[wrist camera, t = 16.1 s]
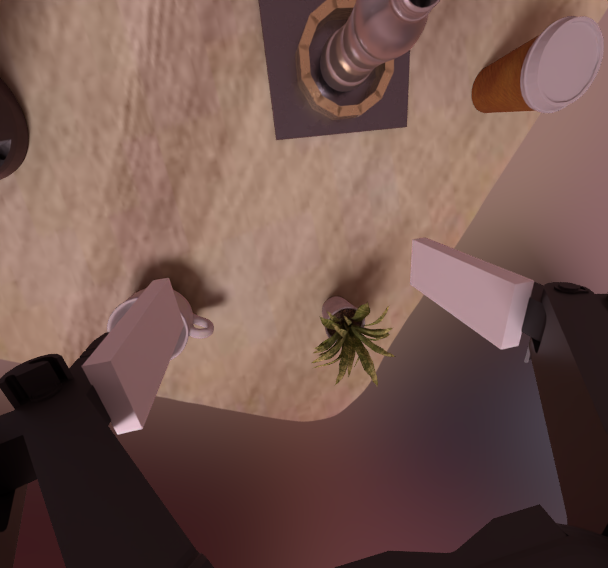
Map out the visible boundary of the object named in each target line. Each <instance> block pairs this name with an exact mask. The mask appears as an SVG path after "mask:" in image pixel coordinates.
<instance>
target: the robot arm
mask: <svg viewBox="0 0 608 568" xmlns="http://www.w3.org/2000/svg"><path fill="white" fill-rule="evenodd" d="M27 147H28V130H27V125H26V121H25V118H24V115H23V112H22V110H21V108H20V106H19V104H18V102H17V100H16V98H15V97H14V95H13V93H12V92H11V91H10V89H9V88H8V87H7V85H6V84H5V83H4V82H3V80H2V79H1V78H0V180H1V179H3V178H5V177H7V176H9V175H10V174H12V173H13V172H14V171H15V170H16V169H17V168H18V167H19V166H20V165H21V163H22V161H23V159H24V157H25V155H26V151H27ZM410 285H412V286H413V287H415V288H416V289H417V290H419V291H420V292H422V293H423V294H424V295H426V296H427V297H429V298H430V299H431V300H433V301H434V302H435V303H437V304H439V305H440V306H441V307H442V308H444V309H445V310H447V311H448V312H450V313H451V314H452V315H454V316H455V317H456V318H458V319H459V320H461V321H462V322H463V323H465V324H466V325H467V326H469V327H470V328H472V329H473V330H474V331H476V332H477V333H479V334H480V335H481V336H483V337H484V338H486V339H487V340H488V341H490V342H491V343H493V344H494V345H495V346H497V347H498V348H500V349H505V348H510V347H515V346H518V345H519V341H520V337H521V333H522V332H524V333H525V334H527V335H529V336H530V337H531V338H530V342H529V346H528V349H527V353H526V357H525V361H524V362H525V363H528V361H529V360H530V359H531V360H532V364H533V368H534V372H535V377H536V382H537V386H538V390H539V395H540V399H541V404H542V408H543V412H544V417H545V421H546V426H547V430H548V435H549V439H550V443H551V448H552V452H553V457H554V461H555V465H556V470H557V474H558V479H559V482H560V487H561V492H562V496H563V500H564V505H565V509H566V514H567V525H564V524H558V523H555V522H554V521H553V519H552V518H551V517H550V516H549V515H548V514H547V512H546V511H545V510H544V509H543V508H542V507H541V505H540V504H539V505H536V506H533V507H530V508H526V509H523V510H520V511H517V512H513V513H510V514H507V515H504V516H501V517H497V518H494V519H492V520H491V521H490V522H489V523H488V524H486V525H485V526H484V527H483V528H482V529H481V530H479V532H477V533H476V534H475V535H474V536H472V537H471V538H470V539H469V540H468V541H467V542H466V543H464V544H463V545H462V546H461V547H460V548H458V549H457V550H456V551H454V552H451V553H429V552H405V551H387V552H384V553H381V554H377V555H374V556H371V557H367V558H364V559H361V560H358V561H354V562H351V563H348V564H345V565H341V566H338V567H335V568H608V294H594V293H593V292H592V291H591V290H590V289H588V288H586V287H583V286H580V285H576V284H573V283H566V282H553V283H547V284H545V285H544V286H543V285H541V284H538V283H536V282H534V280H531V279H529V278H526V277H524V276H521V275H519V274H516V273H514V272H511V271H509V270H506V269H503V268H501V267H498V266H495V265H493V264H491V263H488V262H486V261H483V260H481V259H478V258H476V257H473V256H471V255H468V254H465V253H463V252H460V251H458V250H455V249H453V248H450V247H448V246H445V245H443V244H440V243H438V242H435V241H433V240H430V239H428V238H419V239H413V241H412V259H411V277H410ZM183 326H184V323H183V320H182V317H181V314H180V311H179V307H178V304H177V301H176V298H175V295H174V292H173V289H172V286H171V282H170V279H169V278H164V279H157V280H153V281H152V282H151V283H150V284H149V286H148V287H147V288H146V289H145V290H144V292H143V293H142V294H141V295H140V296H139V298H138V299H137V300H136V301H135V302H134V304H133V305H132V306H131V307H130V308H129V310H128V311H127V312H126V313H125V315H124V316H123V317H122V318H121V319H120V321H119V322H118V323H117V324H116V325H115V327H114V328H113V329H112V330H111V331H110V332H107V333H104V334H103V335H101V336H100V337H99V338H97V339H96V340H94V341H93V342H92V343H91V344H90V345H89V347H88V348H87V349H86V351H84V352H83V353H82V355H81V356H80V358H79V359H77V360H76V361H75V362H74V364H73V365H72V366H71V367H70V368H68V366H67V365H66V363H65V361H64V359H63V357H62V356H61V355H59V354H48V355H44V356H40V357H37V358H34V359H31V360H29V361H26V362H24V363H22V364H20V365H18V366H16V367H15V368H13V369H12V370H10V371H9V372H7V373H6V374H5V375H4V376H3V377H2V378H1V379H0V388H1V390H2V391H3V393H4V394H5V396H6V397H7V399H8V400H9V401H10V403H11V404H12V406H13V407H14V408H15V410H14V411H11V412H9V413H6V414H3V415H1V416H0V568H13V564H14V558H15V552H16V547H17V541H18V535H19V529H20V524H21V518H22V512H23V507H24V501H25V495H26V489H27V484H28V483H30V482H32V481H34V480H36V479H38V482H39V486H40V488H41V492H42V494H43V498H44V501H45V504H46V507H47V510H48V513H49V516H50V519H51V523H52V526H53V529H54V532H55V535H56V538H57V541H58V544H59V547H60V550H61V553H62V557H63V559H64V563H65V566H66V568H214V567H213V566H212V564H211V563H210V562H209V560H208V559H207V558H206V557H205V556H204V555H203V554H202V553H201V554H200V553H199V552H198V551H197V550H196V549H195V547H194V546H193V545H192V543H191V542H190V540H189V539H188V538H187V536H186V535H185V533H184V532H183V531H182V529H181V528H180V527H179V525H178V524H177V522H176V521H175V519H174V518H173V517H172V515H171V514H170V513H169V511H168V510H167V508H166V507H165V505H164V504H163V503H162V501H161V500H160V498H159V497H158V495H157V494H156V493H155V491H154V490H153V488H152V487H151V486H150V484H149V483H148V481H147V480H146V479H145V477H144V476H143V474H142V473H141V472H140V470H139V469H138V468H137V466H136V465H135V463H134V462H133V461H132V459H131V458H130V456H129V455H128V453H127V452H126V451H125V449H124V448H123V446H122V445H121V444H120V442H119V441H118V439H117V438H116V437H115V435H114V434H113V432H112V431H111V430H110V428H109V427H108V425H109V423H110V421H111V423H112V425H113V427H114V429H115V431H116V433H117V434H122V433H126V432H131V431H135V430H140V429H143V427H144V424H145V421H146V419H147V416H148V414H149V411H150V409H151V406H152V404H153V401H154V399H155V396H156V394H157V391H158V389H159V386H160V384H161V381H162V379H163V376H164V374H165V371H166V369H167V366H168V364H169V361H170V359H171V356H172V354H173V351H174V349H175V346H176V344H177V341H178V339H179V336H180V334H181V331H182V329H183Z"/></svg>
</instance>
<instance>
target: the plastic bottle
mask: <svg viewBox="0 0 608 568" xmlns="http://www.w3.org/2000/svg"><path fill="white" fill-rule="evenodd" d="M439 1H440V0H356V3H355V5H354V8H353V10H352V13H351V15H350V17H349V18H348V20H347V22H346V23H345V24H344V25H343V26H342V27H341V28H340V29H338V30H337V31H335V32H334V33H333V34H332V35H331V36H330V37H329V38H328V39H327V41H326V42H325V45H324V47H323V50H322V54H321V59H320V69H321V73H322V76H323V78H324V80H325V81H326V83H327V84H328V85H329V86H330V87H331V88H333V89H334V90H337V91H342V92H343V91H351V90H354V89H356V88H358V87H359V86H360V85H361V84H363V82H364V81H365V80H366V79H367V77H368V76H369V75H370V73H371V72H372V71H373V70H374V68H376V67H377V66H379V65H381V64H382V63H385V62H388V61H390V60H393V59H396V58H398V57H399V56H401V55H403V54H405V53H406V52H408V51H409V50H410V49H411V48H412V47H413V46H414V44H415V43H416V42H417V40H418V39H419V37H420V35H421V33H422V31H423V30H424V27H425V25H426V22H427V18H428V13H429V12H430V11H431V10H432V8H433V7H434V6H436V5H437V3H438V2H439Z"/></svg>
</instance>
